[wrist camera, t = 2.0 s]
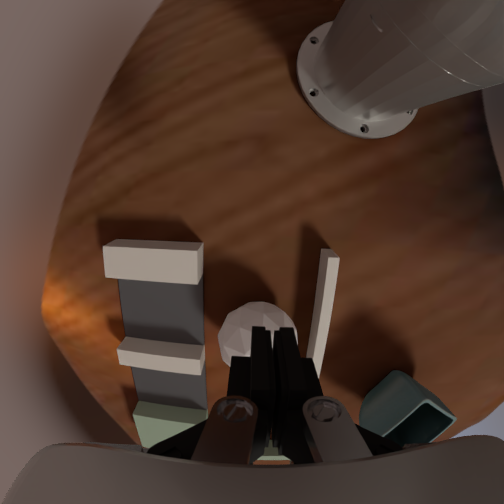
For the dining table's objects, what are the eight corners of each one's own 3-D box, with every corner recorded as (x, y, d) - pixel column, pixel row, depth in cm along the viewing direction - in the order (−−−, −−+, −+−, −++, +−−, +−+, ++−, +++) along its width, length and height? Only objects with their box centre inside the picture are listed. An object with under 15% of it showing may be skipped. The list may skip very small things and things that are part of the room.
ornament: (276, 275, 28) (327, 335, 23) (265, 325, 33) (305, 380, 27) (206, 295, 25) (251, 369, 20) (206, 345, 29) (242, 409, 24)
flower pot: (343, 399, 33) (361, 451, 24) (394, 350, 31) (427, 398, 22) (382, 419, 34) (402, 464, 25) (428, 377, 32) (458, 419, 23)
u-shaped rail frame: (116, 238, 27) (102, 246, 25) (331, 249, 28) (339, 257, 25) (148, 431, 35) (142, 446, 32) (295, 443, 35) (297, 459, 32)
